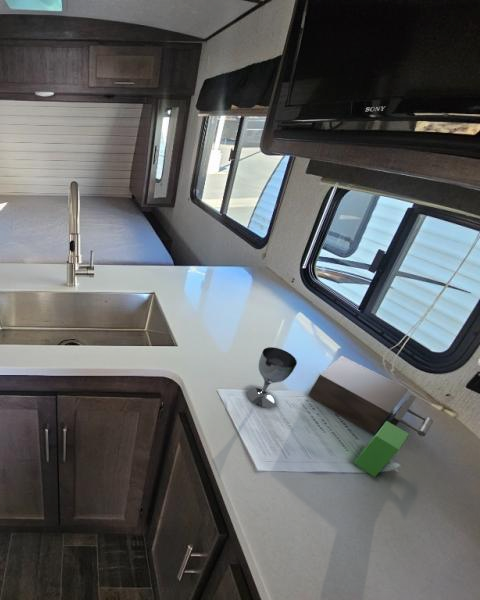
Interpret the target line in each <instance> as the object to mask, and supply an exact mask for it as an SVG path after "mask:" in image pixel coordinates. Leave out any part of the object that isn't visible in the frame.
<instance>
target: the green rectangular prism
mask: <svg viewBox="0 0 480 600" xmlns="http://www.w3.org/2000/svg"><path fill="white" fill-rule="evenodd" d="M409 435H410V433H409V432H407V431H405V430H403V429H402V428H399V427H398V426H397V425H396V426H395V425H393V424H391V423H389V421H388V420H385V421H384V423H383V424H382V425H381V426H380V427H379V429H378V430H377V431H376V432H375V434H374V436H373V437H372V438H371V439H370V441H369V442H368V443H367V444H366V446H365V447H364V448H363V450H362V451H361V452H360V454H359V455H358V457H357V458H356V459H355V460H354V462H353V464H354V465H356V466H357V467H359V468H361V469H362V470H363V471H365V472H366V473H368V474H369V475H371V476H372V477H373V478H375V477H376V476H377V475H378V474H379V473H380V472H381V471H382V470H383V469H384V468H385V467H386V465H387V464H388V463H389V462H390V461H391V460H392V459H393V457H394V456H395V455H396V454H397V453H398V452H399V451H400V449H401V447H402V446H403V445H404V443H405V441H406V440H407V438H408V436H409Z"/></svg>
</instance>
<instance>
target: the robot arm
mask: <svg viewBox="0 0 480 600" xmlns="http://www.w3.org/2000/svg"><path fill="white" fill-rule="evenodd" d="M477 365H478V366H479V367H480V358H479V359H478V361H477ZM465 388H466V389H467V390H470V391H472V392H474V393H476V394H479V395H480V371H479V370H477V372H476V373H475V374H474V375H472V377H471V378H470V379H469V380H468V382H467V383H466V384H465Z"/></svg>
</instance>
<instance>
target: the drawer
mask: <svg viewBox="0 0 480 600" xmlns="http://www.w3.org/2000/svg"><path fill="white" fill-rule="evenodd" d="M416 399H417V397H416V396H415V395H413V394H409V395H408V397H407V398H406V399H405V400H404V402H402V404H401V405H400V406H399V408H398V409H397V410H396V411H395V412H394V414H393V415H392V417H391V418H390V420H389V421H388V422H389V423H391V424H393V425H395V426H396V427H397V425H398V424H402V425H404V426H406V427H407V428H409V429H411V430H413V431H415V432H416V433H417V435H418V436H420V437H425V436H426V435H427V433H428V432H429V430H430V428H431V426H432V425H433V422H434V420H433V419H432V418H431V417H425V416H423V415H422V414H419V413H418V412H416V411H414V410H413V409H411V408H410V407H411V406H412V405H413V403H414V401H415V400H416ZM407 413H409V414H411V415H412V416H415V417H417V418H419V419H421V420H422V423H421V425H420V426H419V428H418V427H417V426H415V425H413V424H411V423H409V422H408V421H406V420H404V419H403V417H404V416H405V415H406V414H407Z"/></svg>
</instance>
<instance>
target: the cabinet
mask: <svg viewBox="0 0 480 600" xmlns="http://www.w3.org/2000/svg"><path fill="white" fill-rule="evenodd" d="M408 390H409V388H408V387H406V386H404V385H402V384H400V383H398V382H396V381H394V380H392V379H390V378H388V377H386V376H384V375H382V374H380V373H377V372H375V371H373V370H372V369H369V368H367V367H366V366H364V365H361V364H359V363H357V362H355V361H353V360H352V359H349V358H347V357H346V356H343V355H340V357H338V358H337V359H336V360H335V361H334V362H332V363H331V364H330V365H329V366H328V367H326V369H324V370H323V371H322V372H321V373H319V375H318V377H317V379H316V381H315V382H314V384H313V386H312V387H311V389H310V391H309V393H307V394H308V395H307V396H309V397H310V398H312V399H314V400H315V401H317V402H318V403H320V404H322V405H324V406H325V407H327V408H329V409H330V410H332V411H334V412H335V413H337V414H339V415H340V416H342V417H343V418H344V419H347V420H348V421H350V422H351V423H353V424H355V425H357V426H358V427H360V428H361V429H363V430H365V431H366V432H368V433H369V434H371V435H372V436H373V435H374V436H375V435H376V433H377V432H378V431H379V430H380V428H381V427H382V426H383V425H384V423H385V422H386V421H387V419H388V417H390V415H391V414H392V412H393V411H394V409H395V408H396V407H397V406H398V404H399V403H400V402H401V400H402V399H403V397H404V396H405V394H406V393H407V392H408Z"/></svg>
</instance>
